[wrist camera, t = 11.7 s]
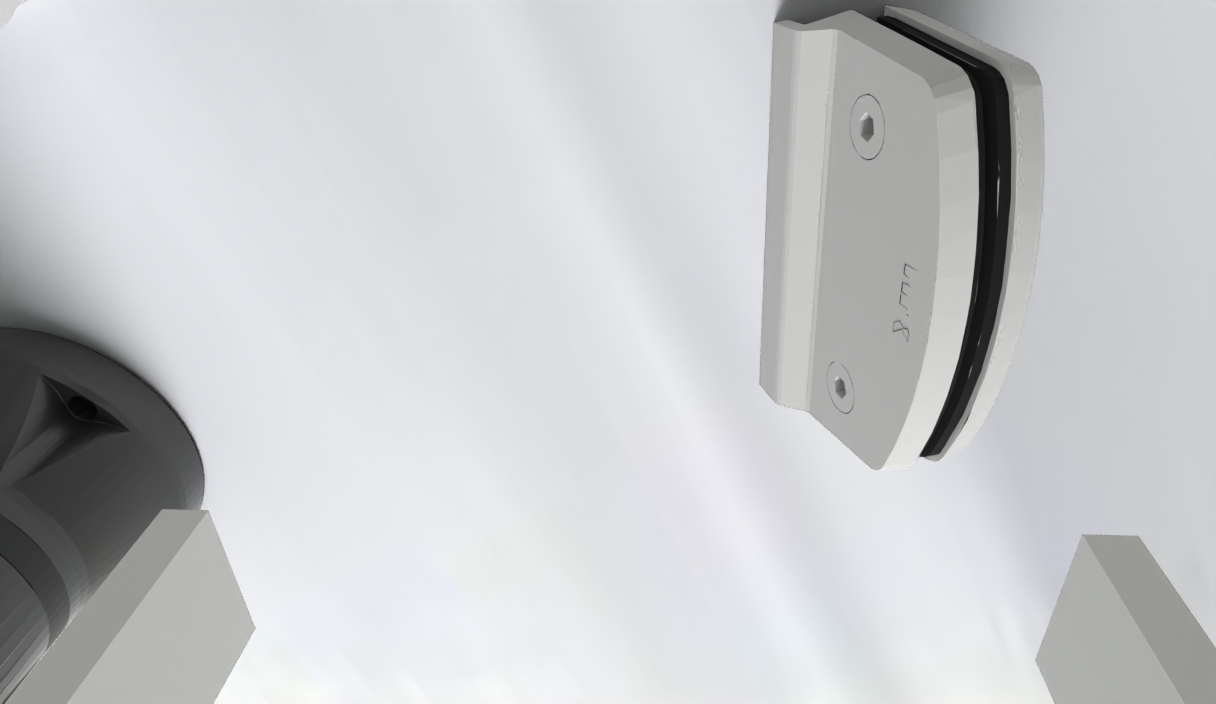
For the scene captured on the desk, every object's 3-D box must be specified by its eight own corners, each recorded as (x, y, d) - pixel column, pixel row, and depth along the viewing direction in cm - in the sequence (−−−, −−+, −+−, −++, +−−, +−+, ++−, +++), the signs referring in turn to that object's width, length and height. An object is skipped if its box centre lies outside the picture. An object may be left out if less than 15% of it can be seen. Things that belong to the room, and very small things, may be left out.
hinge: (773, 10, 29) (943, 58, 20) (890, -3, 30) (1098, 37, 21) (758, 391, 37) (874, 534, 29) (849, 372, 38) (986, 505, 30)
